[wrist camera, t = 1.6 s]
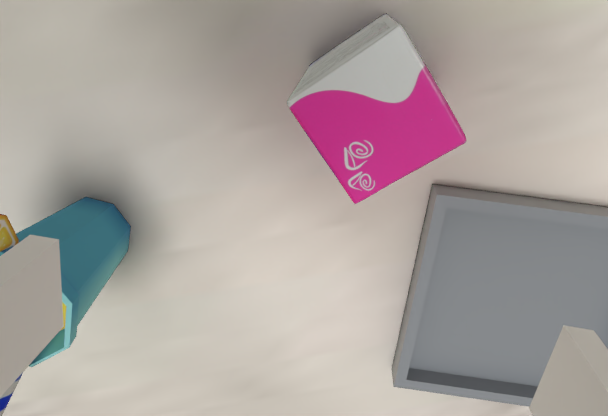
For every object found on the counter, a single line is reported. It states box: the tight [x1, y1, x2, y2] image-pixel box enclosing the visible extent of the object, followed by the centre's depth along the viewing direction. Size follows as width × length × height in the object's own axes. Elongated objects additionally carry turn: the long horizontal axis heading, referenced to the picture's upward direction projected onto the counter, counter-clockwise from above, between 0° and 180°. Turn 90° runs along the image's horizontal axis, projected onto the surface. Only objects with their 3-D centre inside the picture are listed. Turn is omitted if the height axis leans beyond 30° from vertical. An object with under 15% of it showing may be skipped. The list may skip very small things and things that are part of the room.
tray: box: [392, 184, 608, 407], centre depth 35 cm, size 16×16×2 cm
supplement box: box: [287, 13, 466, 204], centre depth 26 cm, size 6×6×12 cm
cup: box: [0, 197, 131, 416], centre depth 30 cm, size 14×8×15 cm, turn 9°
